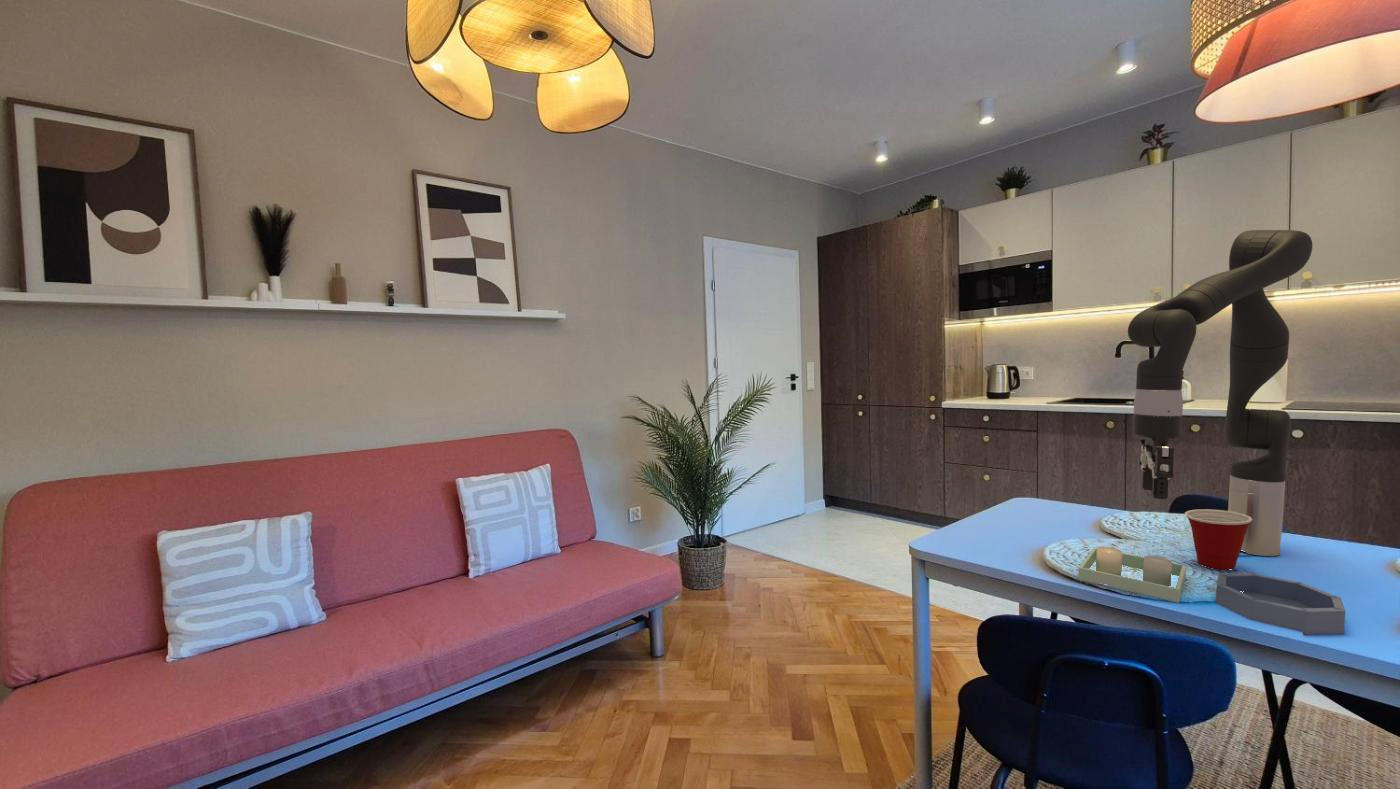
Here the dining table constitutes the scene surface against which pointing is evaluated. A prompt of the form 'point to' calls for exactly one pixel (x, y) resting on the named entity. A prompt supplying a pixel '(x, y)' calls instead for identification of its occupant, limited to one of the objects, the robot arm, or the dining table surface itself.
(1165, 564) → the beige rounded piece
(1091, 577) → the tray
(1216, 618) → the dining table surface
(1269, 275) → the robot arm
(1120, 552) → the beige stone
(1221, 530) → the plastic cup
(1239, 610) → the bowl
